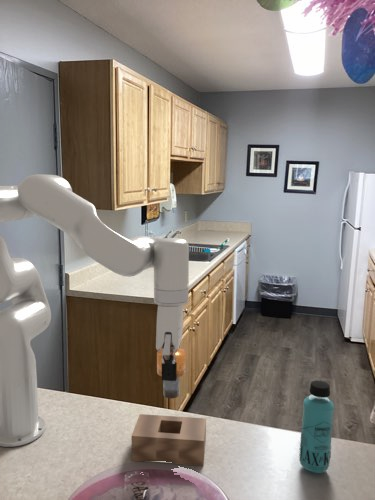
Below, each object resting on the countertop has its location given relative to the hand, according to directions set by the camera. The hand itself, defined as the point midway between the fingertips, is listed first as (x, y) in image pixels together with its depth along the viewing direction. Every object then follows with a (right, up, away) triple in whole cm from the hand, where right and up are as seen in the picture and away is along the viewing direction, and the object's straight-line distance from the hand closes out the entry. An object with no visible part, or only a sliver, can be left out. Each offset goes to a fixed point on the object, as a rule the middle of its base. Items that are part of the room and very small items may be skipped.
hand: (171, 372), depth 96 cm
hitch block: (0, -19, +3) cm, 19 cm away
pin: (0, -5, +1) cm, 5 cm away
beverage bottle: (+31, -21, -3) cm, 38 cm away
